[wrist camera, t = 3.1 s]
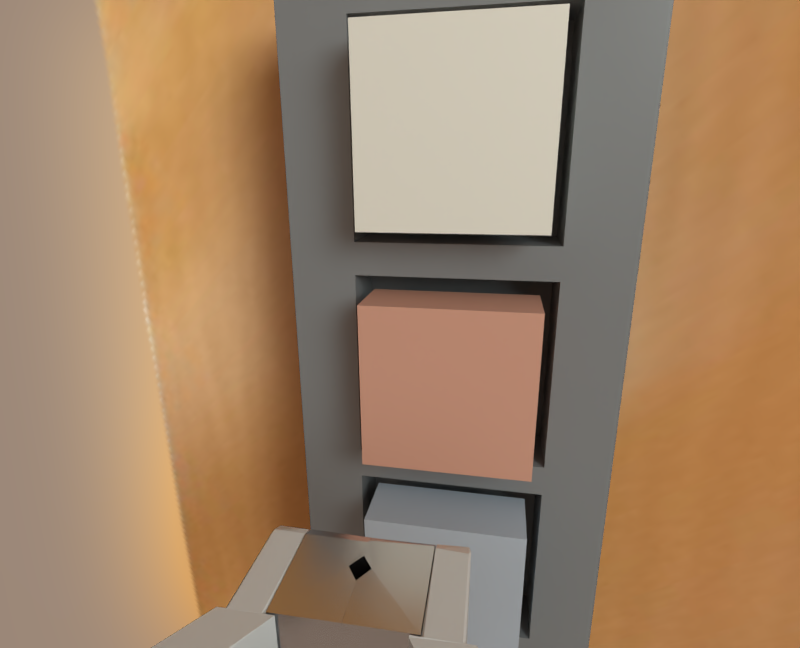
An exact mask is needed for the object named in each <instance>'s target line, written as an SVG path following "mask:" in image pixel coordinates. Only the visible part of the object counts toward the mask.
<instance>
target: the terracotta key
mask: <svg viewBox="0 0 800 648" xmlns="http://www.w3.org/2000/svg"><path fill="white" fill-rule="evenodd" d="M357 315H358V346H359V376H360V407H361V437H362V464H365V465H375V466H384V467H394V468H404V469H413V470H423V471H432V472H442V473H451V474H461V475H471V476H480V477H490V478H499V479H509V480H519V481H528V482H532V469H533V457H534V444H535V432H536V419H537V407H538V394H539V382H540V369H541V356H542V344H543V331H544V319H545V312H544V309H543V305H542V301H541V298H540V295H519V294H493V293H467V292H441V291H415V290H389V289H374V290H373V291H372V292H371V293H370V294H369V295H368V296H367V297H366V298H364V299H363V300H362V301H361V302H360V303H359V304H358V305H357Z"/></svg>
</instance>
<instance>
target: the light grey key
mask: <svg viewBox="0 0 800 648" xmlns="http://www.w3.org/2000/svg"><path fill="white" fill-rule="evenodd" d="M364 527H365V537H370V538H378V539H387V540H396V541H405V542H414V543H423V544H432V545H436V546H437V544H439V545H450V546H460V547H469V548H470V550H471V567H470V590H469V614H468V637H467V644H471V645H476V646H478V648H518V646H519V633H520V621H521V608H522V596H523V583H524V571H525V558H526V545H527V532H526V515H525V499H522V498H513V497H504V496H495V495H486V494H477V493H468V492H459V491H450V490H441V489H432V488H423V487H414V486H405V485H396V484H386V483H379V484H378V486H377V489H376V491H375V494H374V496H373V499H372V501H371V504H370V506H369V509H368V511H367V514H366V516H365V519H364Z"/></svg>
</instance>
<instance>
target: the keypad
mask: <svg viewBox="0 0 800 648" xmlns="http://www.w3.org/2000/svg"><path fill="white" fill-rule="evenodd" d="M673 2H674V0H274V10H275V24H276V38H277V52H278V67H279V81H280V95H281V110H282V124H283V138H284V153H285V167H286V181H287V196H288V210H289V224H290V239H291V253H292V267H293V281H294V296H295V310H296V324H297V339H298V353H299V367H300V382H301V396H302V410H303V425H304V439H305V453H306V468H307V482H308V496H309V511H310V525H311V529H314V530H321V531H328V532H335V533H342V534H349V535H356V536H363V537H365V527H364V519H365V516H366V514H367V511H368V509H369V506H370V504H371V501H372V499H373V496H374V494H375V491H376V489H377V486H378V484H379V483H386V484H396V485H405V486H414V487H423V488H432V489H441V490H450V491H459V492H468V493H477V494H486V495H495V496H504V497H513V498H522V499H525V515H526V532H527V545H526V558H525V571H524V583H523V596H522V608H521V621H520V633H519V646H518V648H588V646H589V638H590V630H591V623H592V615H593V608H594V600H595V593H596V585H597V577H598V570H599V562H600V555H601V547H602V540H603V532H604V524H605V517H606V509H607V502H608V494H609V487H610V479H611V471H612V464H613V456H614V449H615V441H616V434H617V426H618V418H619V411H620V403H621V396H622V388H623V381H624V373H625V365H626V358H627V350H628V343H629V335H630V328H631V320H632V312H633V305H634V297H635V290H636V282H637V275H638V267H639V259H640V252H641V244H642V237H643V229H644V222H645V214H646V206H647V199H648V191H649V184H650V176H651V169H652V161H653V153H654V146H655V138H656V131H657V123H658V116H659V108H660V100H661V93H662V85H663V78H664V70H665V63H666V55H667V47H668V40H669V32H670V25H671V17H672V10H673ZM555 4H570V8H569V21H568V33H567V46H566V58H565V71H564V84H563V96H562V109H561V121H560V134H559V146H558V159H557V171H556V184H555V196H554V209H553V221H552V234H551V236H549V235H491V234H434V233H377V232H355V217H354V187H353V156H352V126H351V95H350V64H349V34H348V18H349V17H365V16H380V15H396V14H412V13H428V12H444V11H460V10H475V9H491V8H507V7H523V6H539V5H555ZM374 289H389V290H415V291H441V292H467V293H493V294H519V295H540V298H541V301H542V305H543V309H544V312H545V319H544V331H543V344H542V356H541V369H540V382H539V394H538V407H537V419H536V432H535V444H534V457H533V469H532V482H528V481H519V480H509V479H499V478H490V477H480V476H471V475H461V474H451V473H442V472H432V471H423V470H413V469H404V468H394V467H384V466H375V465H365V464H362V437H361V407H360V376H359V346H358V315H357V305H358V304H359V303H360V302H361V301H362V300H363V299H364V298H366V297H367V296H368V295H369V294H370V293H371V292H372V291H373V290H374Z"/></svg>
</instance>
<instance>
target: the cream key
mask: <svg viewBox="0 0 800 648" xmlns="http://www.w3.org/2000/svg"><path fill="white" fill-rule="evenodd" d="M569 8H570V4H555V5H539V6H523V7H507V8H491V9H475V10H460V11H444V12H428V13H412V14H396V15H380V16H365V17H349V18H348V34H349V64H350V95H351V126H352V156H353V187H354V217H355V232H377V233H434V234H491V235H549V236H551V234H552V221H553V209H554V196H555V184H556V171H557V159H558V146H559V134H560V121H561V109H562V96H563V84H564V71H565V58H566V46H567V33H568V21H569Z"/></svg>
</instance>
